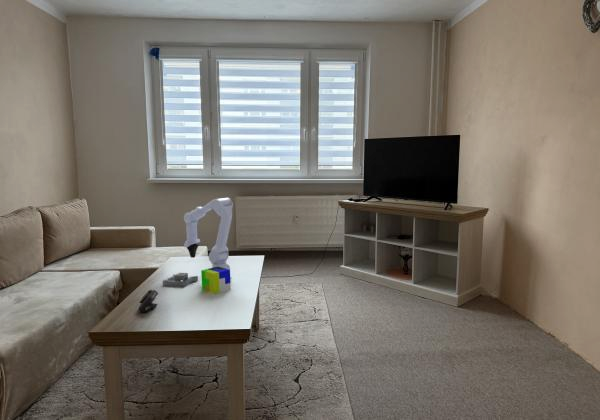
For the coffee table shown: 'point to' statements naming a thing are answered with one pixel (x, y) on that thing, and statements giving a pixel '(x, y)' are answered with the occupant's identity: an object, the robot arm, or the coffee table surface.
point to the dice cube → (181, 276)
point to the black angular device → (148, 301)
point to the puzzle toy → (215, 280)
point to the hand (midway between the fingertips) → (192, 257)
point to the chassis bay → (181, 283)
